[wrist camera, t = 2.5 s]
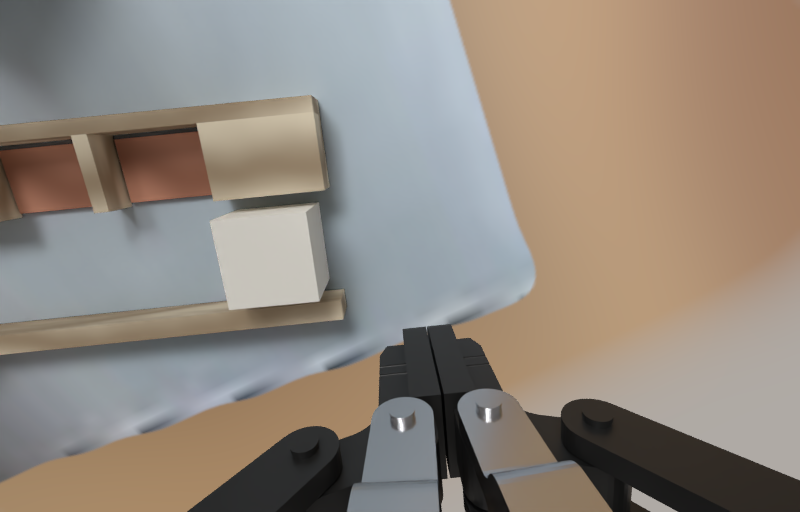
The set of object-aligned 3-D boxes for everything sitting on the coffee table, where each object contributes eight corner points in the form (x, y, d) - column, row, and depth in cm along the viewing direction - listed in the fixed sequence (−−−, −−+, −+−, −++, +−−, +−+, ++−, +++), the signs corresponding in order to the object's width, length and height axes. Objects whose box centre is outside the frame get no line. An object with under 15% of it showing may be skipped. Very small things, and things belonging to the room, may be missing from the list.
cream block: (238, 209, 29) (209, 220, 24) (319, 201, 29) (305, 211, 24) (253, 285, 31) (228, 310, 26) (329, 277, 31) (319, 301, 26)
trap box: (-140, 144, 27) (-228, 143, 23) (317, 100, 27) (306, 91, 23) (-50, 347, 31) (-112, 375, 27) (346, 306, 31) (341, 328, 27)
